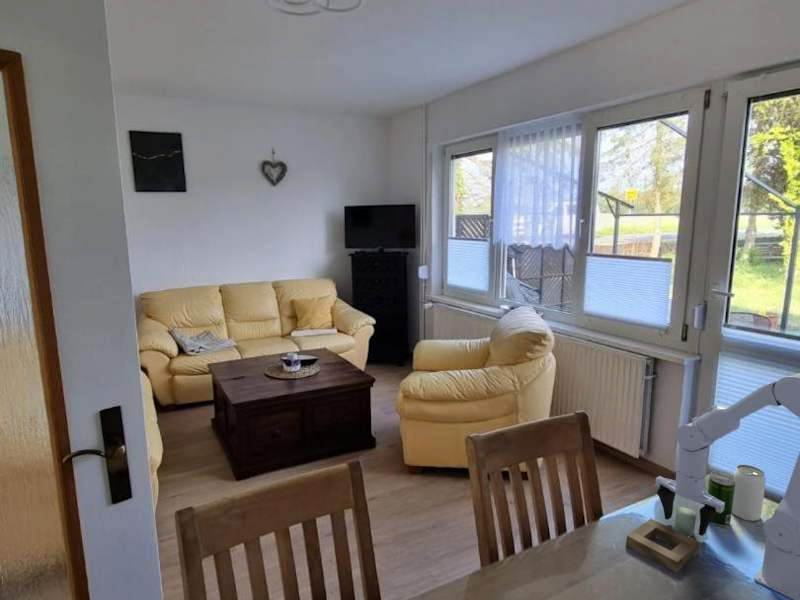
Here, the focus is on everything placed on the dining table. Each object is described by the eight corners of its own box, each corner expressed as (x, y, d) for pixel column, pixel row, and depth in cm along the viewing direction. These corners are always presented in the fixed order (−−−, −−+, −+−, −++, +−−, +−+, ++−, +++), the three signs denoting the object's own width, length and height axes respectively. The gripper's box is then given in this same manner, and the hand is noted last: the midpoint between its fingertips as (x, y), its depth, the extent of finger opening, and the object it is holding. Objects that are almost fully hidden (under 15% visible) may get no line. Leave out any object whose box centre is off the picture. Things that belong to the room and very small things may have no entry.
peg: (696, 532, 118) (699, 513, 117) (689, 538, 115) (691, 519, 115) (679, 524, 121) (681, 505, 120) (671, 530, 119) (673, 510, 118)
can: (734, 519, 123) (740, 474, 122) (725, 505, 130) (731, 462, 128) (764, 524, 122) (771, 478, 120) (754, 509, 128) (760, 466, 126)
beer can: (733, 522, 122) (739, 476, 120) (725, 530, 119) (731, 483, 117) (709, 512, 126) (714, 468, 124) (700, 519, 123) (706, 474, 121)
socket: (698, 552, 111) (700, 542, 110) (676, 572, 104) (677, 561, 104) (649, 527, 119) (650, 518, 119) (625, 545, 113) (626, 535, 112)
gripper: (732, 480, 113) (725, 534, 115) (667, 456, 124) (661, 506, 126) (720, 490, 108) (712, 546, 111) (653, 463, 120) (648, 515, 122)
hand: (684, 525), depth 118 cm, fingers open, 7 cm apart
